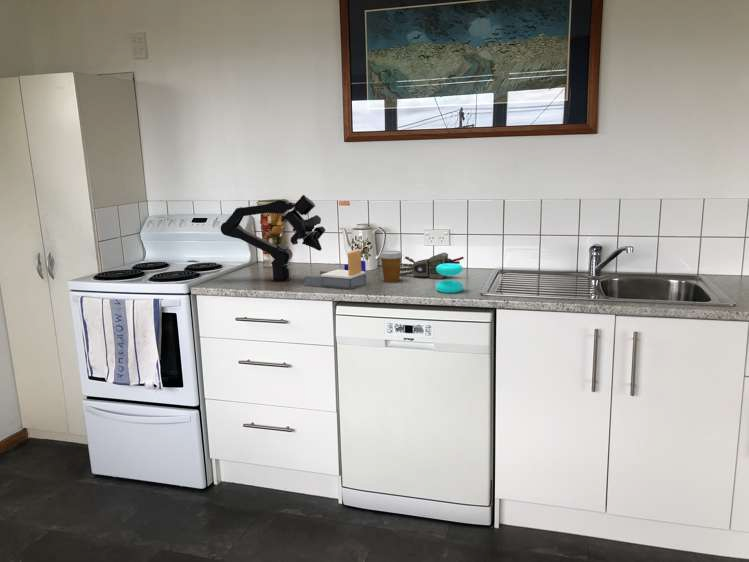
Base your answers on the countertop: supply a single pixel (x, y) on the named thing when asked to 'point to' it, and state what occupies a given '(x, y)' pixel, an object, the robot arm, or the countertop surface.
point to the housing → (335, 281)
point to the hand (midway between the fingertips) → (320, 249)
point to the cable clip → (363, 266)
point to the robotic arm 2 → (428, 266)
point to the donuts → (449, 285)
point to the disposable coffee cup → (391, 265)
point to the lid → (353, 267)
